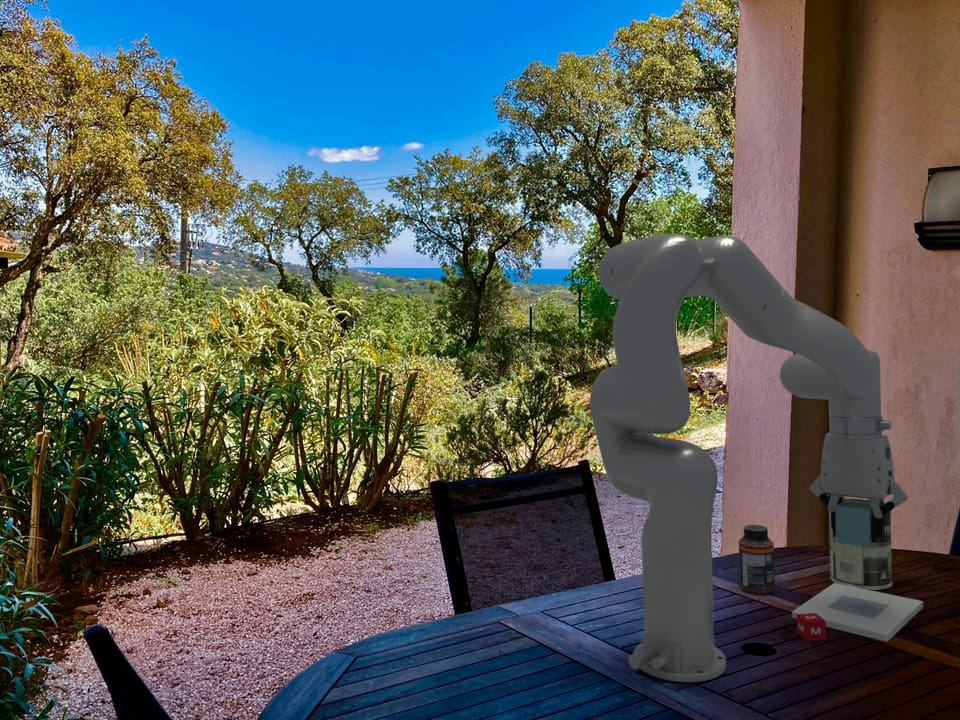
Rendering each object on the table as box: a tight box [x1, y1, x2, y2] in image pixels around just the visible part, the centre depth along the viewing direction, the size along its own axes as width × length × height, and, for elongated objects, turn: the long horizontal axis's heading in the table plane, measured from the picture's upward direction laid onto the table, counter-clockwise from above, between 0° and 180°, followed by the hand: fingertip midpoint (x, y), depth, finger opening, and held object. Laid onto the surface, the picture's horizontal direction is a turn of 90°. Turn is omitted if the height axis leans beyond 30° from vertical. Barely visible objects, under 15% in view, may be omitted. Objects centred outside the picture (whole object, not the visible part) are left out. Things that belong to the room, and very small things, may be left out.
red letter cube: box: [796, 613, 827, 642], centre depth 111 cm, size 3×3×3 cm
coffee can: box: [828, 498, 893, 591], centre depth 134 cm, size 10×10×14 cm
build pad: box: [791, 582, 924, 643], centre depth 120 cm, size 18×14×1 cm
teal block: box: [835, 500, 879, 548], centre depth 119 cm, size 5×5×6 cm
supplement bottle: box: [738, 524, 776, 595], centre depth 132 cm, size 6×6×11 cm
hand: (857, 536), depth 119 cm, fingers closed on teal block, 5 cm apart
